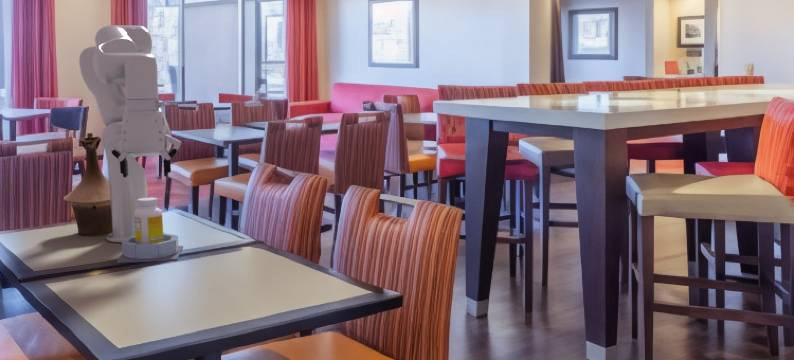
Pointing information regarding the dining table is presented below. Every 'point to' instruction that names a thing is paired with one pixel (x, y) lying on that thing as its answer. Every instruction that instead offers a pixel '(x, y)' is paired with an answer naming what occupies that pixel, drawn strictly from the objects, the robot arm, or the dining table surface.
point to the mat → (170, 258)
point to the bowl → (150, 248)
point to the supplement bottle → (148, 222)
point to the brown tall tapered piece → (92, 195)
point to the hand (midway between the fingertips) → (146, 176)
